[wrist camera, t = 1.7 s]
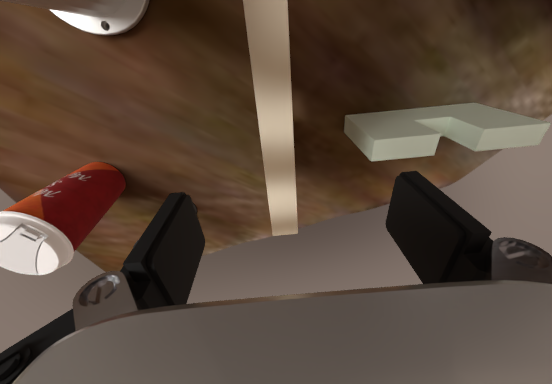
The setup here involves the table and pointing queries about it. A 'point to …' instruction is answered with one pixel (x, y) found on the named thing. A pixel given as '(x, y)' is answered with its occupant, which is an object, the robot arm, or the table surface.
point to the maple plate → (274, 106)
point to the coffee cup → (57, 219)
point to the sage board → (440, 130)
